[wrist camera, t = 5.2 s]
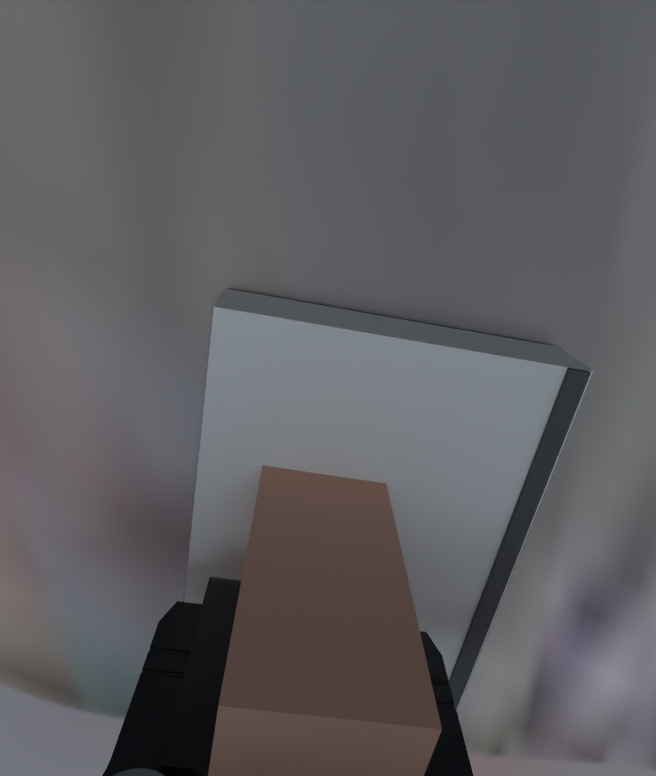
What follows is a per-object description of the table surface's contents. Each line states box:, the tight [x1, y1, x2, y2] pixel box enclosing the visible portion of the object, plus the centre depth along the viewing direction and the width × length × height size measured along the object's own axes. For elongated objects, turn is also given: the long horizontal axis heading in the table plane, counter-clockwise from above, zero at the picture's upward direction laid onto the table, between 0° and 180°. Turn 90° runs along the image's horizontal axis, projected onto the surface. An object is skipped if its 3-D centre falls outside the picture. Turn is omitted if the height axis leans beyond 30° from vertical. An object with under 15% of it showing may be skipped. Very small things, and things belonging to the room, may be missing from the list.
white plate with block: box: [184, 289, 593, 776], centre depth 10 cm, size 7×12×6 cm, turn 170°
